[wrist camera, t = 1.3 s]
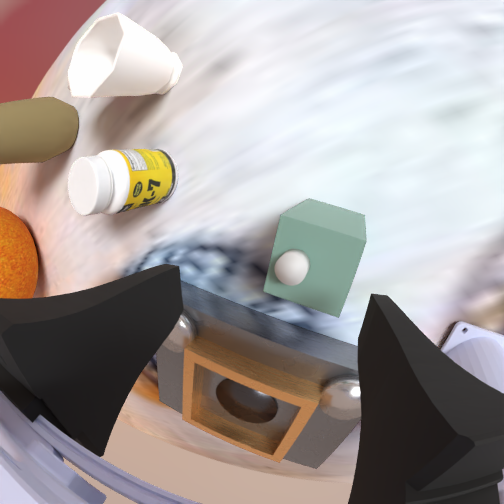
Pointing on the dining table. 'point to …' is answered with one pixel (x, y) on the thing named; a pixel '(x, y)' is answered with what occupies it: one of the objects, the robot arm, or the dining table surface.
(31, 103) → the squeeze bottle
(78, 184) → the supplement bottle
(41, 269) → the dining table surface
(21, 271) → the decorative sphere
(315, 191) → the dining table surface
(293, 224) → the spout tin
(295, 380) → the grey framed base plate
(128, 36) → the cup
